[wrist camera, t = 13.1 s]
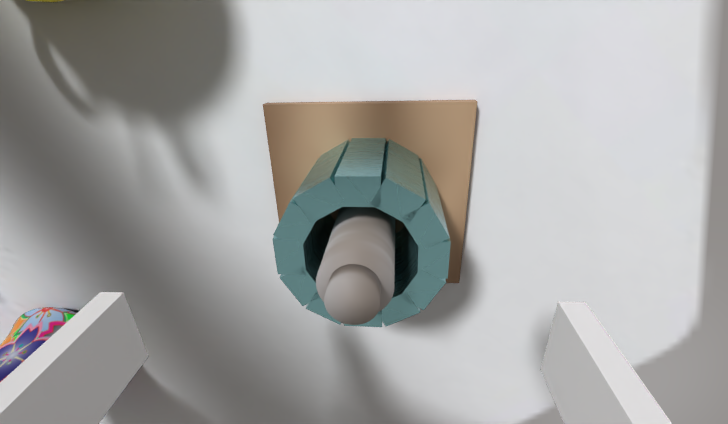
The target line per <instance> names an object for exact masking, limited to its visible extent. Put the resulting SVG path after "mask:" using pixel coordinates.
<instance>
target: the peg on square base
mask: <svg viewBox="0 0 728 424" xmlns="http://www.w3.org/2000/svg"><path fill="white" fill-rule="evenodd" d="M263 109H264V116H265V123H266V131H267V138H268V145H269V152H270V159H271V167H272V174H273V181H274V188H275V195H276V202H277V210H278V217H279V222H280V220H281V218H282V216H283V214H284V212H285V210H286V208H287V206H288V204H289V202H290V201H291V199H292V198H293V196H294V195H295V193H296V192H297V190H298V189H299V187H300V185H301V184H302V182H303V181H304V179H305V178H306V176H307V175H308V173H309V172H310V170H311V169H312V167H313V166H314V164H315V163H316V161H317V160H318V158H320V156H321V155H323V154H324V153H326V152H328V151H329V150H331V149H333V148H334V147H336V146H338V145H339V144H341V143H343V142H344V141H346V140H348V139H349V141H351V139H352V138H386V144H387V142H388V140H389V139H390V140H392V141H394V142H396V143H397V144H399V145H401V146H403V147H405V148H406V149H408V150H410V151H412V152H413V153H415V154H417V155H418V156H419V159H420V158H421V159H422V161H423V162H424V164H425V166H426V168H427V169H428V171H429V173H430V175H431V177H432V178H433V180H434V182H435V184H436V186H437V190H438V194H439V198H440V202H441V206H442V210H443V213H444V217H445V221H446V225H447V229H448V233H449V237H450V241H451V245H450V257H449V269H448V279H446V283H459V279H460V269H461V259H462V249H463V239H464V229H465V219H466V209H467V199H468V189H469V179H470V169H471V159H472V149H473V140H474V130H475V120H476V110H477V101H476V100H432V101H364V102H296V103H265V104H263ZM330 215H331V216H332V218H333V219H334V220H335V224H334V227H333V229H332V232H331V235H330V238H329V241H328V244H327V247H326V250H325V253H324V256H323V259H322V262H321V265H320V267H319V270H318V273H317V277H316V288H317V291H318V294H319V296H320V298H321V299H322V301H323V302H324V304H325V308H326V310H327V312H328V313H329V314H330V315H331V316H332V317H333V318H334V319H336V320H337V321H339V322H341V323H344V324H349V325H360V324H364V323H367V322H369V321H370V320H372V319H373V318H374V317H375V316H376V315H377V313H378V312H379V311H381V310H382V309H384V308H385V307H386V306H387V305H388V304H389V302H390V301H391V299H392V297H393V293H394V279H395V233H397V232H399V231H401V230H402V228H403V227H404V225H405V224H404V223H403V222H402V221H400V220H398V219H396V218H394V217H392V216H391V215H389V214H387V213H385V212H383V211H381V210H379V209H377V208H376V207H341V208H339V209H337V210H336V211H334V212H332V213H330Z"/></svg>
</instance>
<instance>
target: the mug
mask: <svg viewBox="0 0 728 424" xmlns="http://www.w3.org/2000/svg"><path fill="white" fill-rule="evenodd" d="M76 314H77V313H76V312H73V311H70V310H66V309H61V308H53V307H47V308H38V309H34V310H31V311H28V312H26V313H24V314H23V315H21V316H20V317H19V318H18V319H17V321H16V322H15V323H14V325H13V327H12V330H11V331H10V333H9V335H8V336H7V337H6V339H5V340H4V341H3V343H2V344H1V345H0V382H1V381H2V380H4V379H5V378H6V377H7V376H8V375H9V374H10V373H11V372H12V371H14V370H15V369H16V368H17V367H18V366H19V365H20V364H21V363H22V362H23V361H25V360H26V359H27V358H28V357H29V356H30V355H31V354H32V353H33V352H35V351H36V350H37V349H38V348H39V347H40V346H41V345H42V344H43V343H45V342H46V341H47V340H48V339H49V338H50V337H51V336H52V335H53V334H54V333H56V332H57V331H58V330H59V329H60V328H61V327H62V326H63V325H64V324H66V323H67V322H68V321H69V320H70V319H71V318H72V317H73V316H74V315H76Z"/></svg>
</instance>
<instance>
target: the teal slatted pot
mask: <svg viewBox="0 0 728 424" xmlns="http://www.w3.org/2000/svg"><path fill="white" fill-rule="evenodd" d="M341 207H376V208H377V209H379V210H381V211H383V212H385V213H387V214H389V215H391V216H392V217H394V218H396V219H398V220H400V221H402V222H403V223H404V224H405V225H404V227H403V228H402V230H401V231H399V232H397V233H395V279H394V293H393V297H392V299H391V301H390V302H389V304H388V305H387V306H386V307H385V308H384V309H382V310H381V311H379V312H378V313H377V315H376V316H375V317H374V318H373V319H372V320H370V321H369V322H367V323H364V324H360V325H349V324H344V326H367V327H382V321H383V323H384V324H385V325H386V326H388V325H391V324H393V323H396V322H398V321H401V320H403V319H405V318H408V317H410V316H413V315H415V314H418V313H420V308H421V309H423V310H424V309H425V308H426V307H427V305H428V304H429V303H430V302H431V300H432V299H433V298H434V297H435V295H436V294H437V293H438V292H439V291H440V289H441V288H442V287H443V286H444V284H445V283H446V279H448V269H449V257H450V245H451V241H450V237H449V233H448V229H447V225H446V221H445V217H444V213H443V210H442V206H441V202H440V198H439V194H438V190H437V186H436V184H435V182H434V180H433V178H432V177H431V175H430V173H429V171H428V169H427V168H426V166H425V164H424V162H423V161H422V159H421V158H420V159H419V156H418V155H417V154H415V153H413V152H412V151H410V150H408V149H406V148H405V147H403V146H401V145H399V144H397V143H396V142H394V141H392V140H390V139H389V140H388V142H387V144H386V138H352V139H351V141H349V139H348V140H346V141H344V142H343V143H341V144H339V145H338V146H336V147H334V148H333V149H331V150H329V151H328V152H326V153H324V154H323V155H321V156H320V158H318V160H317V161H316V163H315V164H314V166H313V167H312V169H311V170H310V172H309V173H308V175H307V176H306V178H305V179H304V181H303V182H302V184H301V185H300V187H299V189H298V190H297V192H296V193H295V195H294V196H293V198H292V199H291V201H290V202H289V204H288V206H287V208H286V210H285V212H284V214H283V216H282V218H281V220H280V222H279V224H278V227H277V229H276V231H275V233H274V238H273V245H274V251H275V258H276V264H277V271H278V274H281V276H280V279H281V280H282V281H283V282H284V284H285V285H286V286H287V287H288V289H289V290H290V291H291V292H292V294H293V295H294V296H295V297H296V298H297V300H298V301H299V302H300V303H301V305H302V306H304V305H306V304H307V307H306V309H308V310H310V311H312V312H314V313H317V314H319V315H321V316H323V317H325V318H327V319H329V320H331V321H333V322H336V323H338V324H341V322H339V321H337V320H336V319H334V318H333V317H332V316H331V315H330V314H329V313H328V312H327V310H326V308H325V304H324V302H323V301H322V299H321V298H320V296H319V294H318V291H317V288H316V277H317V273H318V270H319V267H320V265H321V262H322V259H323V256H324V253H325V250H326V247H327V244H328V241H329V238H330V235H331V232H332V229H333V227H334V224H335V220H334V219H333V218H332V216H331V215H330V213H332V212H334V211H336V210H337V209H339V208H341Z"/></svg>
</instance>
